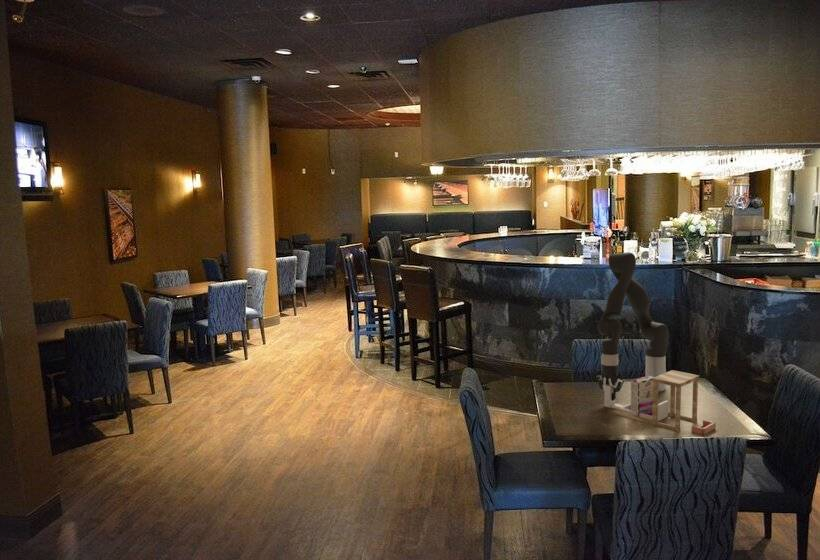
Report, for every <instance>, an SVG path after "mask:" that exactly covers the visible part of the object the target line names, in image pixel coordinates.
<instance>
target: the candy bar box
mask: <svg viewBox="0 0 820 560" xmlns="http://www.w3.org/2000/svg"><path fill="white" fill-rule="evenodd" d="M653 378H654V377H652V376H641V377H637V378H634V379H631V380H630V403H631V411H634V412H636V416H638V417H639V413H643V414H647V415H651V416H653V383H654V382H652V380H653Z"/></svg>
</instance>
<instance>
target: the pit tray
mask: <svg viewBox="0 0 820 560" xmlns="http://www.w3.org/2000/svg"><path fill="white" fill-rule="evenodd" d="M716 427H717V426H716V421H715V422H713V421H711V420H707V419H702V424H701V425H699V426H696V425H691V433H692V434H694V435H695V434H696V435H699V436H702V437H705V436H706V435H709V434H710V433H711V432H713V431H714V430H715V431H716Z"/></svg>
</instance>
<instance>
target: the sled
mask: <svg viewBox="0 0 820 560" xmlns="http://www.w3.org/2000/svg"><path fill="white" fill-rule="evenodd" d="M613 386H614V385H613ZM611 398H612V393H611V386H610V385H609V384H606V385H604V391H603V399H604V401H603V402H604V403H603V404H604V405H603V406H604V407H606V408H611V409H616V410H618V411H620V412H623V413H627V414H631V415H634V416H636V412H634V411H631V402H630V403H628V404H625V405H622V404H619V403H616V402H617V401H616V398H615V400H613V401H612V400H611ZM668 412H669V400H664V401H662V402H658V422H659V421H660V422H661V421H662V420H664V419H665V418H667V417H669V416H668ZM639 417H642V418H645V419H649V420H653V415H647V414H643V413H639Z"/></svg>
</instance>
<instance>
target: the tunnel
mask: <svg viewBox="0 0 820 560" xmlns="http://www.w3.org/2000/svg"><path fill="white" fill-rule="evenodd" d="M699 380H700V375H697V374H694V373H689V372H683V371H678V370H673V369H671V370H669V371H666V373H664V374H661V375H659V376H656V377H654V378H653V380H652V382H654V383H653V415H652V416H653V420H649V419H645V418H642V417H638V416H634V415H631V414H627V413H623V412H620V411H619V410H615V411H614V415H618V416H621V417H625V418H629V419H632V420H635V419H636V420H637V421H639V420H640V421H639V422H643V421H644V423H646V422H647V424H650V425H653V426H658V427H661V428H664V429H665V428H666V429H668V430H672V431H675V432H681V420H684V421H687V422H691V423H695V424H696V423H698V394H699V392H698V391H699V390H698V389H699ZM658 383H661V384H666V385H667V386H670V395H669V396H670V397H669V398H670V399H669V404H670V405H669V411H668V417H671V418H675V419H674V425H671V424H667V423H663V422H661V421H660V422H659V421H658V404H659V392H658ZM689 384H692V407H691V409H692V410H691V417H690V416H687V415H683V414H681V410H682V409H681V407H682V406H681V404H682V403H681V401H682V400H681V399H682V387H684V386H686V385H689Z"/></svg>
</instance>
